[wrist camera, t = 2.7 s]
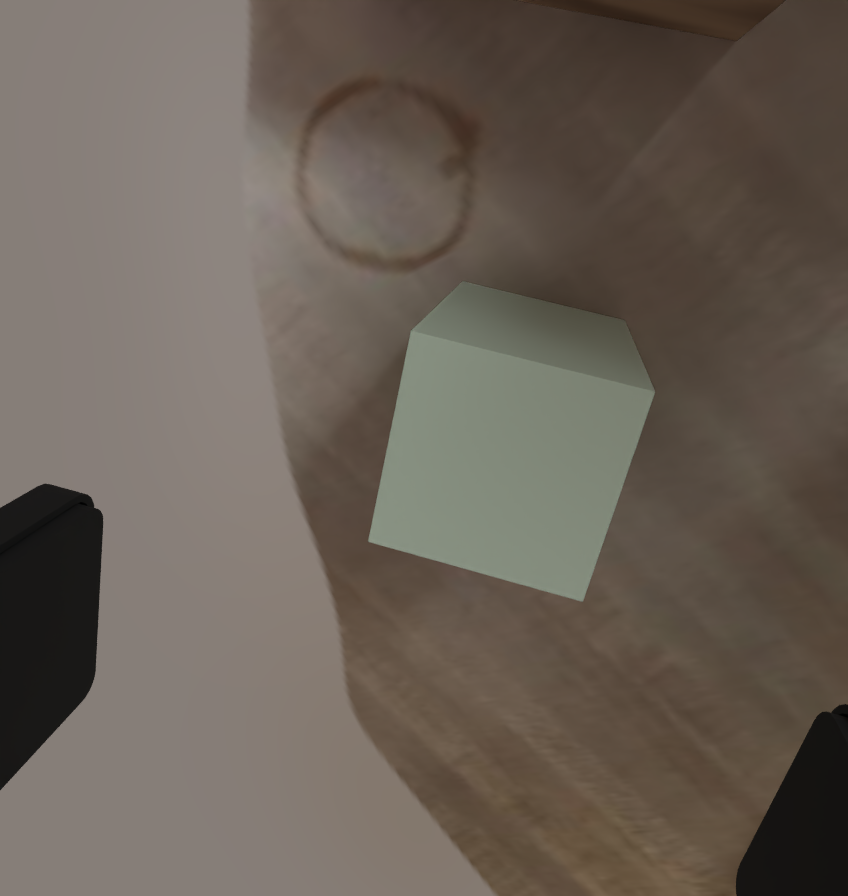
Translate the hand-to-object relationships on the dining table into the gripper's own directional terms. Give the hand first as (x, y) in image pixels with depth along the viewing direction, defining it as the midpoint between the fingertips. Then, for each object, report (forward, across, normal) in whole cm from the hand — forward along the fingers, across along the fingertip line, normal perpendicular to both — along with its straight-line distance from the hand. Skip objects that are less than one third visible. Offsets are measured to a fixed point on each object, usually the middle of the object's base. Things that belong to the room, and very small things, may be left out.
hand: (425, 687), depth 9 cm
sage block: (+15, 0, -1) cm, 15 cm away
